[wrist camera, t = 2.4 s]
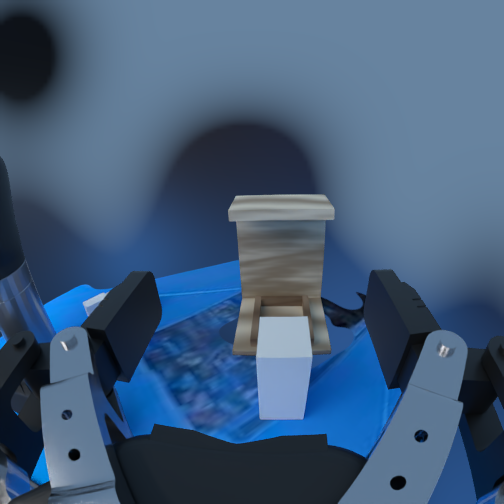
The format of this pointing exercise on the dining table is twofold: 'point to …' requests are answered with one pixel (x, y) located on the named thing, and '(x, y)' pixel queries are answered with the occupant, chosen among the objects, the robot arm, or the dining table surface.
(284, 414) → the pale elongated brick
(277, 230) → the brown wooden upright stand
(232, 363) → the dining table surface
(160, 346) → the dining table surface
